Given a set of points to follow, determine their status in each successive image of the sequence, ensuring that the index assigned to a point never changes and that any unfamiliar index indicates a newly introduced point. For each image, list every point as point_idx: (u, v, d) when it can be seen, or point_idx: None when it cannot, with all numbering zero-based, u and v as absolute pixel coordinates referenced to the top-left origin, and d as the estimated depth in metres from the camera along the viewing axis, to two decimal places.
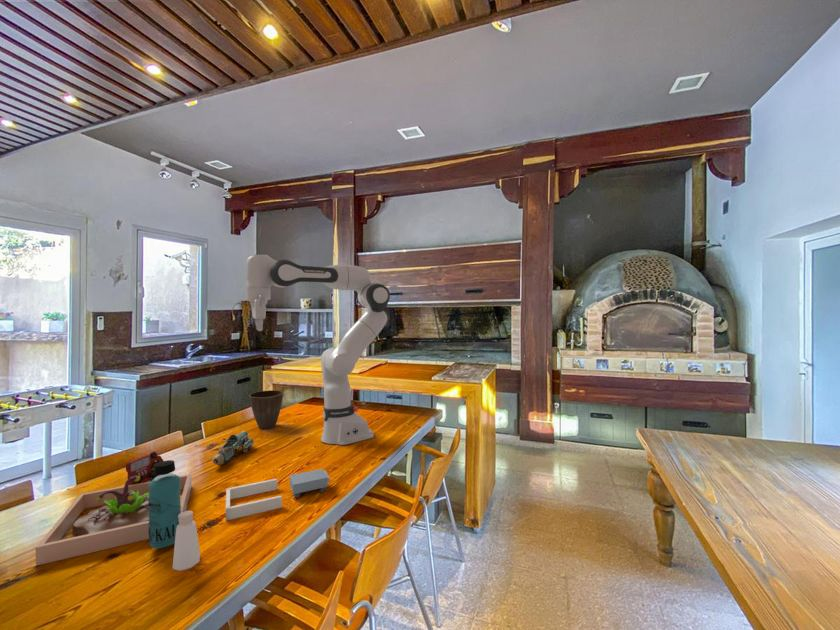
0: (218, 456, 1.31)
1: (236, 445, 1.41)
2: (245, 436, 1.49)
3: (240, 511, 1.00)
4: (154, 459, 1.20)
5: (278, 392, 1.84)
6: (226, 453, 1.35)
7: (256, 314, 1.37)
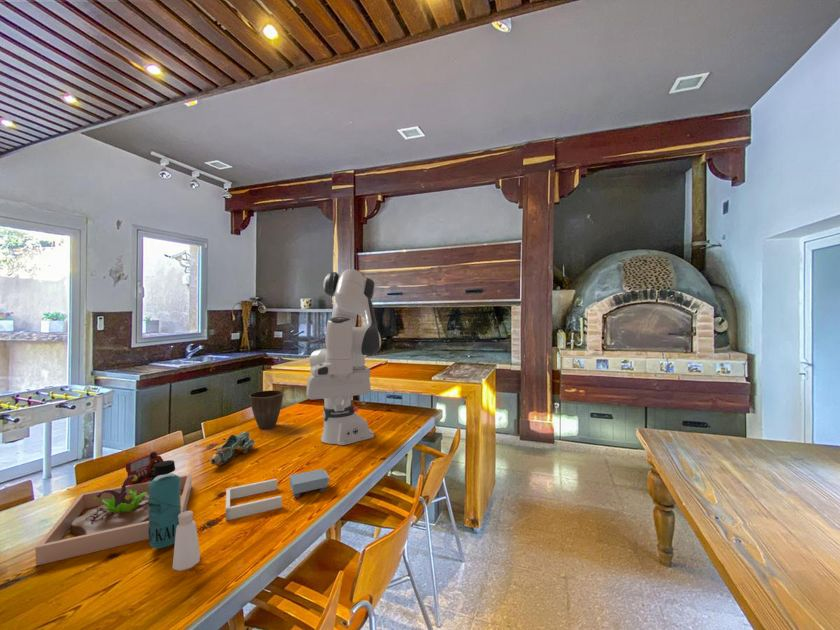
0: (215, 457, 1.30)
1: (235, 445, 1.41)
2: (246, 436, 1.49)
3: (240, 511, 1.00)
4: (154, 459, 1.20)
5: (278, 392, 1.84)
6: (224, 453, 1.34)
7: (370, 388, 1.22)
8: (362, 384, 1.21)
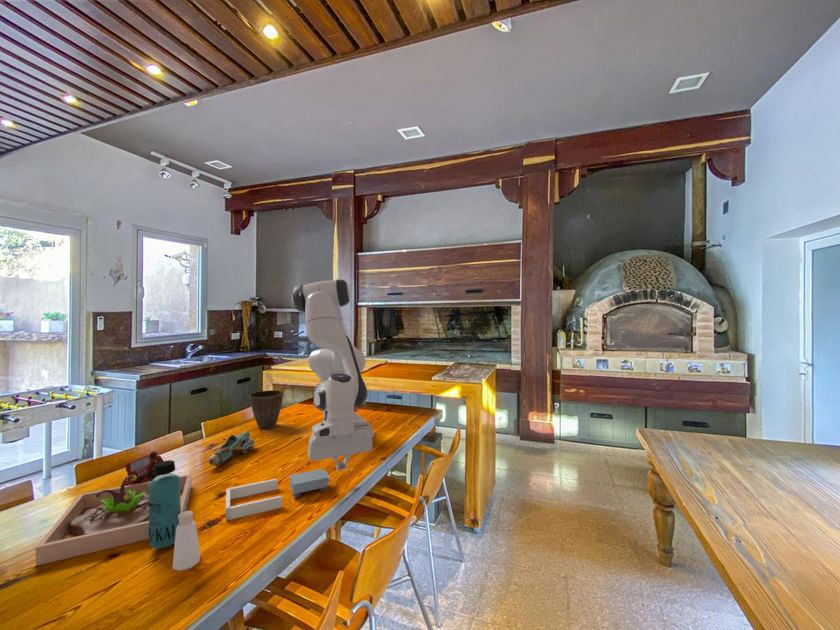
0: (213, 457, 1.30)
1: (235, 446, 1.41)
2: (246, 437, 1.48)
3: (240, 511, 1.00)
4: (154, 459, 1.20)
5: (278, 392, 1.84)
6: (223, 454, 1.34)
7: None
8: (364, 441, 1.20)
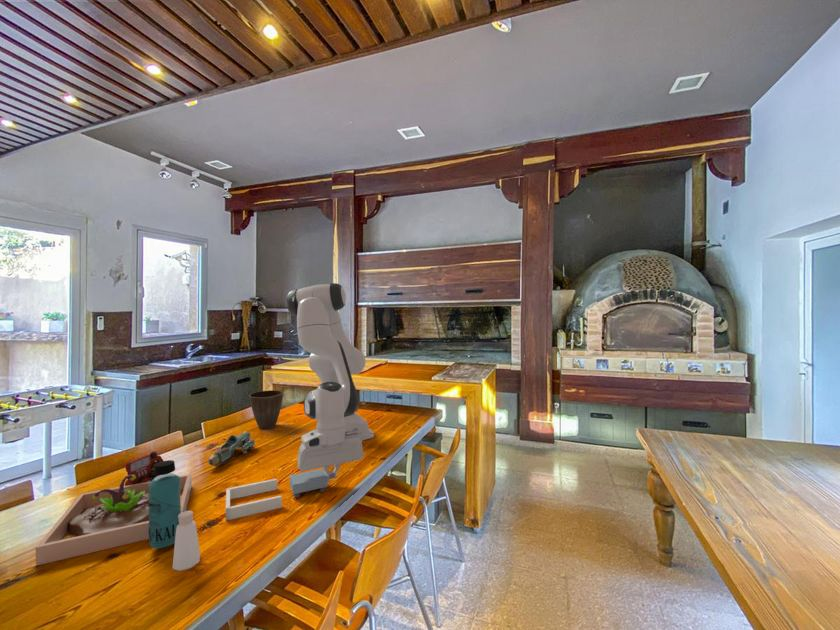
0: (212, 457, 1.30)
1: (235, 446, 1.40)
2: (246, 437, 1.48)
3: (240, 511, 1.00)
4: (154, 459, 1.20)
5: (278, 392, 1.84)
6: (222, 454, 1.34)
7: (362, 453, 1.21)
8: (355, 450, 1.19)
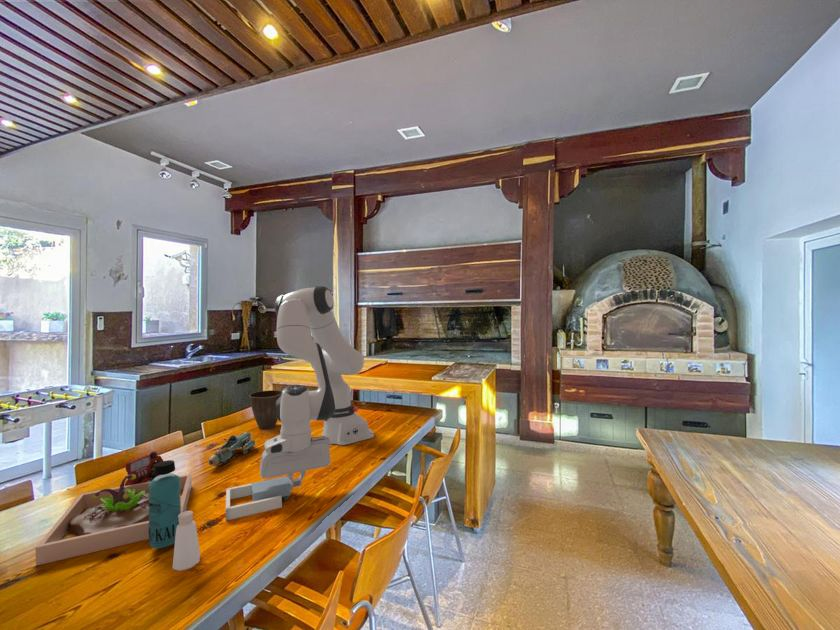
0: (213, 457, 1.30)
1: (235, 446, 1.40)
2: (247, 437, 1.48)
3: (240, 511, 1.00)
4: (154, 459, 1.20)
5: (278, 392, 1.84)
6: (222, 454, 1.34)
7: None
8: (321, 456, 1.14)
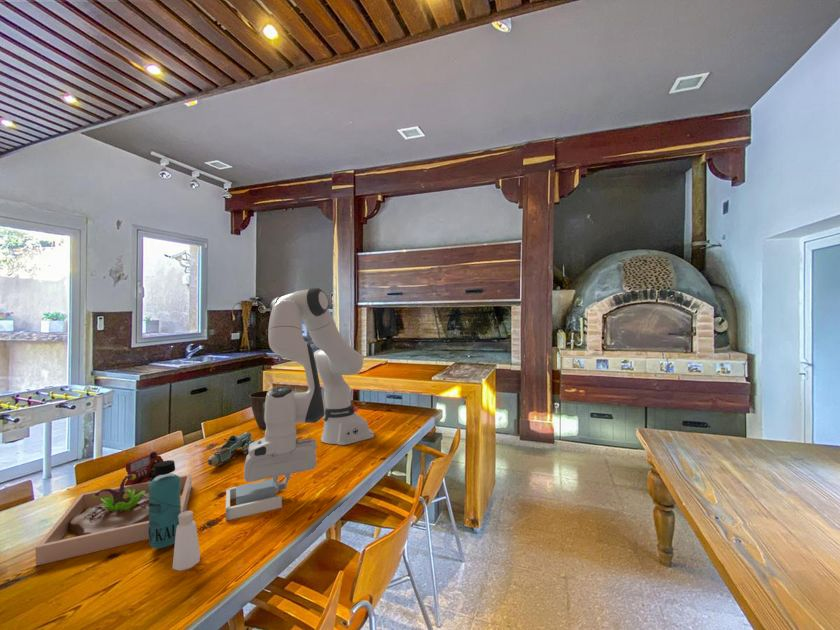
0: (212, 458, 1.30)
1: (235, 446, 1.40)
2: (247, 437, 1.48)
3: (240, 511, 1.00)
4: (154, 459, 1.20)
5: None
6: (222, 454, 1.34)
7: None
8: (307, 459, 1.12)
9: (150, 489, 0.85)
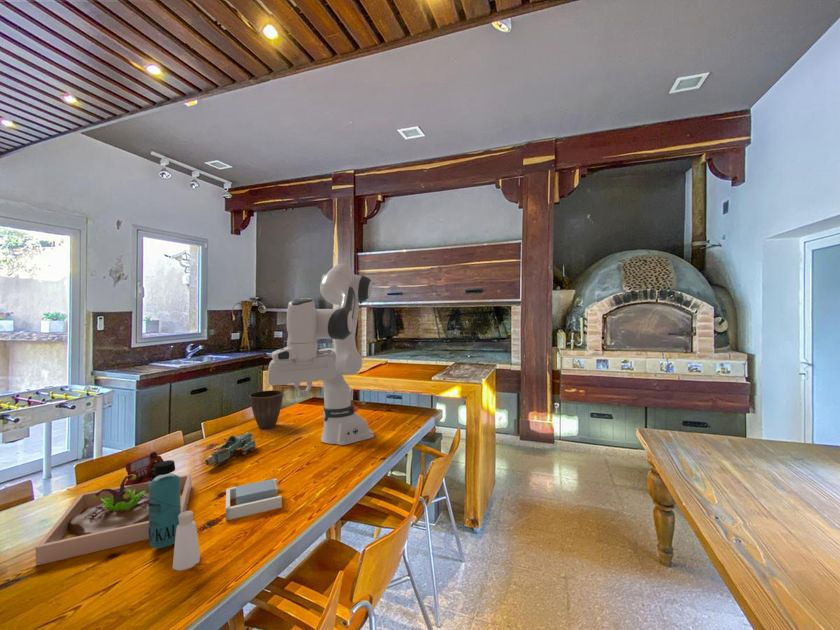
0: (209, 458, 1.30)
1: (234, 447, 1.40)
2: (247, 438, 1.47)
3: (240, 511, 1.00)
4: (154, 459, 1.20)
5: (278, 392, 1.84)
6: (220, 455, 1.33)
7: (336, 373, 1.17)
8: (327, 369, 1.16)
9: (150, 489, 0.85)
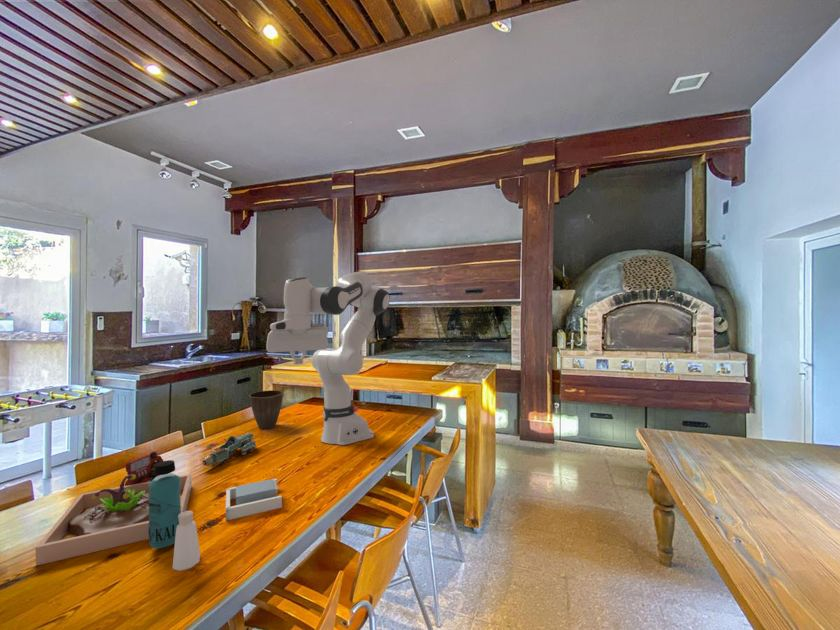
0: (207, 458, 1.30)
1: (233, 447, 1.39)
2: (247, 438, 1.47)
3: (240, 511, 1.00)
4: (154, 459, 1.20)
5: (278, 392, 1.84)
6: (218, 455, 1.33)
7: (327, 344, 1.31)
8: (320, 339, 1.30)
9: (150, 489, 0.85)
